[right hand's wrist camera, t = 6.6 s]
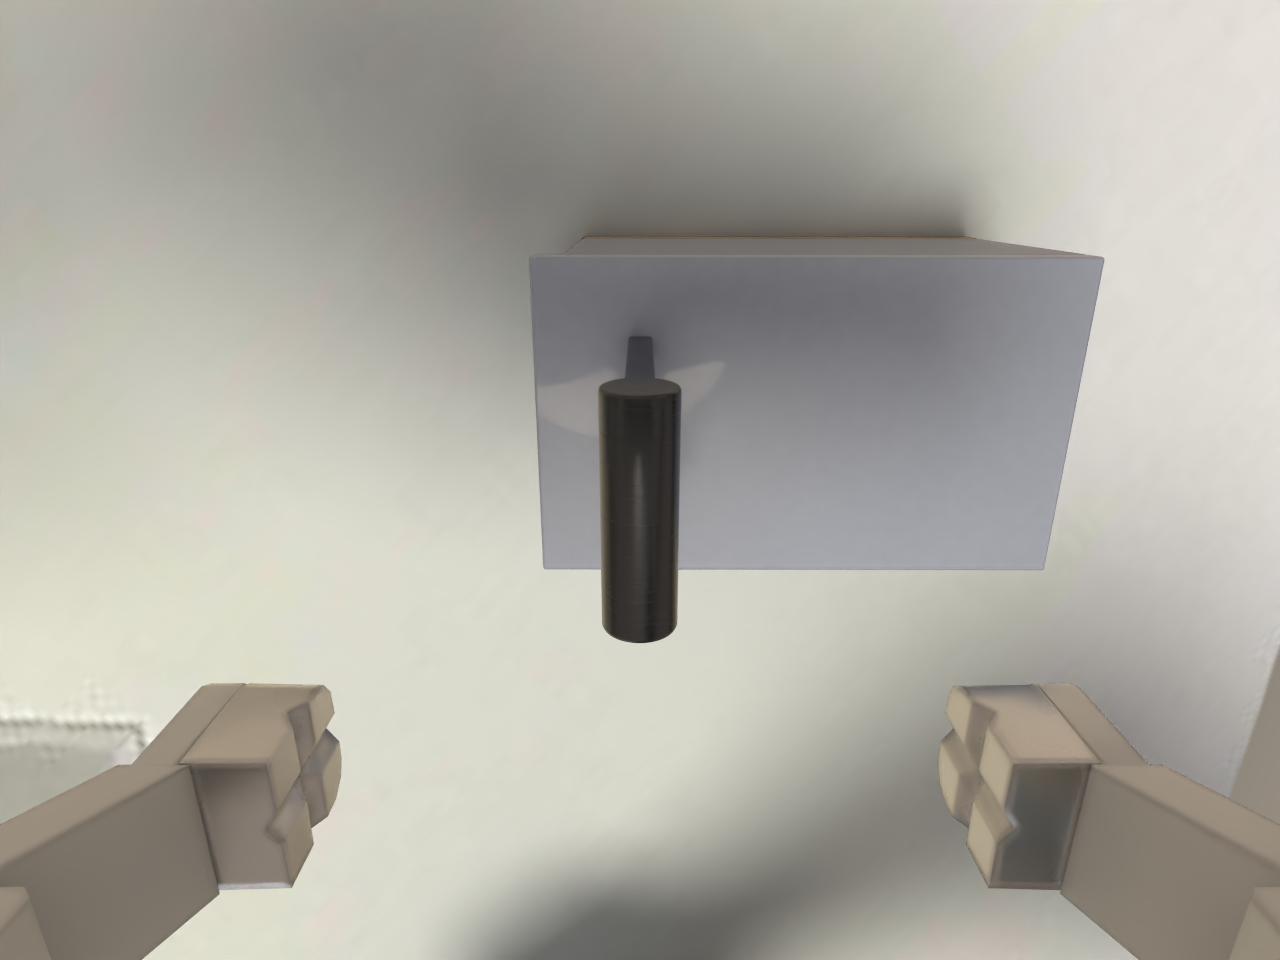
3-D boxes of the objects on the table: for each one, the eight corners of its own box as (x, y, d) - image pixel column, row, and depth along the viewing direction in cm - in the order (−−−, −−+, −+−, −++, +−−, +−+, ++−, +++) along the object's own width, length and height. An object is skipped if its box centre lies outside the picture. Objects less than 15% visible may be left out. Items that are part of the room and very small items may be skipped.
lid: (546, 557, 26) (503, 721, 18) (532, 254, 23) (473, 288, 15) (1031, 558, 26) (1206, 723, 18) (1088, 254, 23) (1334, 289, 15)
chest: (589, 466, 35) (571, 557, 26) (584, 236, 31) (562, 253, 23) (934, 466, 35) (1030, 558, 26) (965, 236, 31) (1088, 254, 23)
